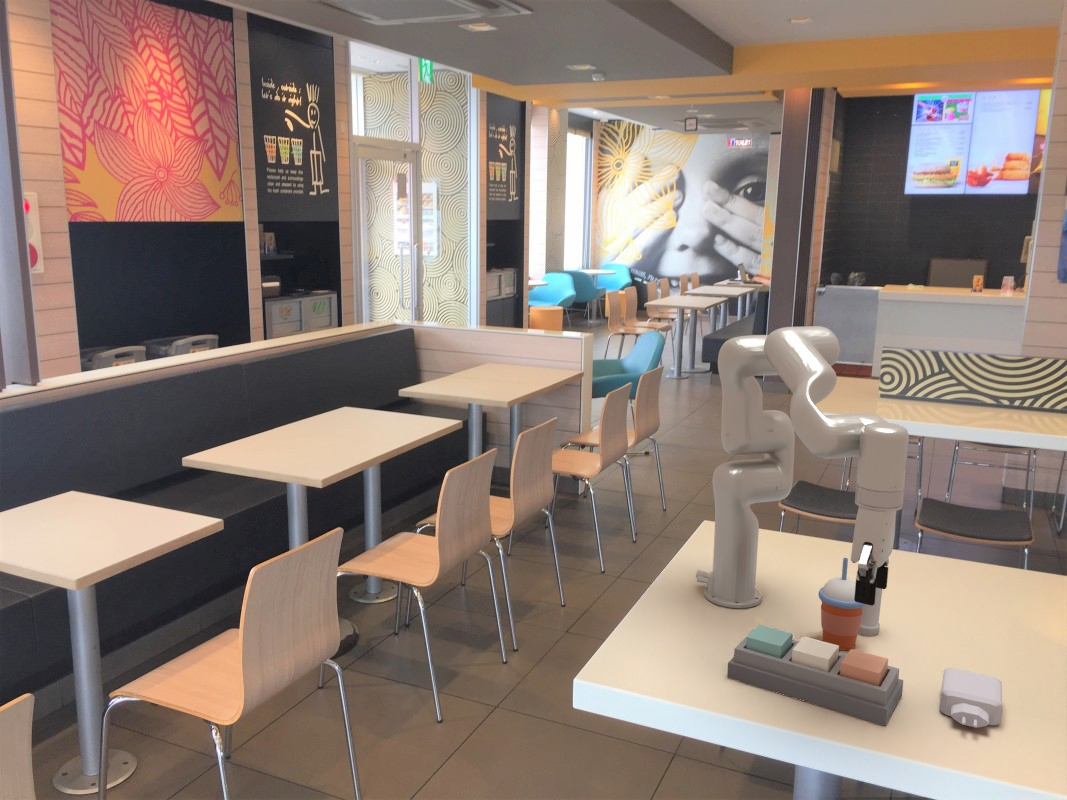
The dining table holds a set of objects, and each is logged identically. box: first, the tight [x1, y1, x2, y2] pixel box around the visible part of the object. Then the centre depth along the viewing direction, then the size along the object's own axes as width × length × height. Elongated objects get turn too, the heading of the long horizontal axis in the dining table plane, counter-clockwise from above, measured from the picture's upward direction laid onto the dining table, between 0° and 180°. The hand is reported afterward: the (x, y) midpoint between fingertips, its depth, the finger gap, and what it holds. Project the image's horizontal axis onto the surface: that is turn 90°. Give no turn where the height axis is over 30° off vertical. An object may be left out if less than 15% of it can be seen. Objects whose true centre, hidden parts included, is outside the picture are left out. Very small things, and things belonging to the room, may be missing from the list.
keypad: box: [726, 636, 904, 727], centre depth 159 cm, size 28×12×6 cm, turn 55°
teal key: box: [746, 624, 794, 659], centre depth 163 cm, size 6×6×3 cm
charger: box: [939, 667, 1003, 729], centre depth 150 cm, size 5×9×15 cm
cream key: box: [792, 636, 840, 672], centre depth 158 cm, size 6×6×3 cm
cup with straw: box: [818, 557, 866, 651], centre depth 174 cm, size 9×9×18 cm
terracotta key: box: [840, 648, 889, 687], centre depth 154 cm, size 6×6×3 cm
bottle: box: [857, 559, 883, 637], centre depth 179 cm, size 5×5×25 cm
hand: (870, 594), depth 151 cm, fingers open, 7 cm apart
